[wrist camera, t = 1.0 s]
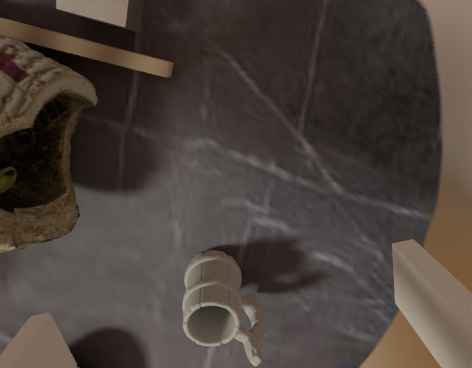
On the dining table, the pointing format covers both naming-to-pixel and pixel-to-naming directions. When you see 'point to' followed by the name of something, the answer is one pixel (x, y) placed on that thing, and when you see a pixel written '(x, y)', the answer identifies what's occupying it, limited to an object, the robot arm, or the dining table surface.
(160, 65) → the channel
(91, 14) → the block
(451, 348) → the robot arm
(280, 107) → the dining table surface
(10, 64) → the sculptural head
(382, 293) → the dining table surface
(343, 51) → the dining table surface
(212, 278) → the mug
